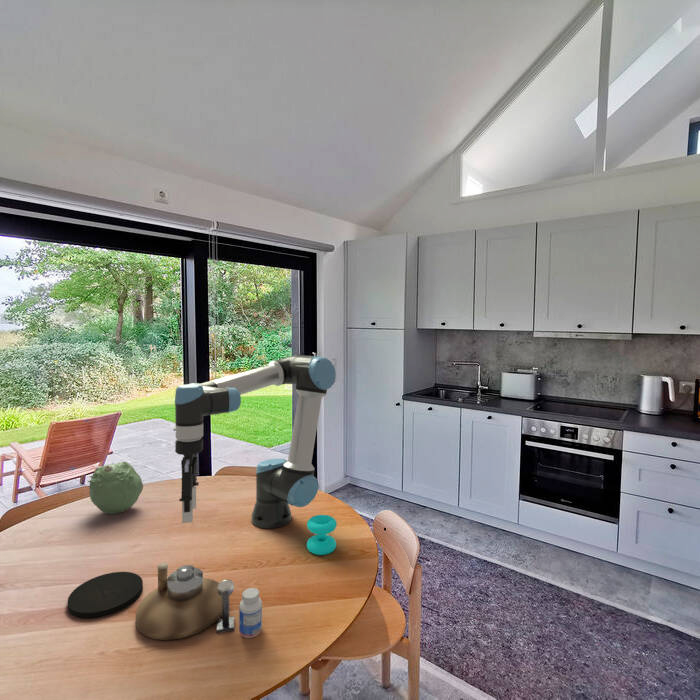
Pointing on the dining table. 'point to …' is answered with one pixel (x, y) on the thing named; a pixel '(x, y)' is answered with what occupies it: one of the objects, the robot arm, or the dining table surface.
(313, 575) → the dining table surface
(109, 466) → the cabbage
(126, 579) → the wireless charger
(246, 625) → the pill bottle
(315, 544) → the donuts
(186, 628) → the turntable
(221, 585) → the dial post
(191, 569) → the cover
